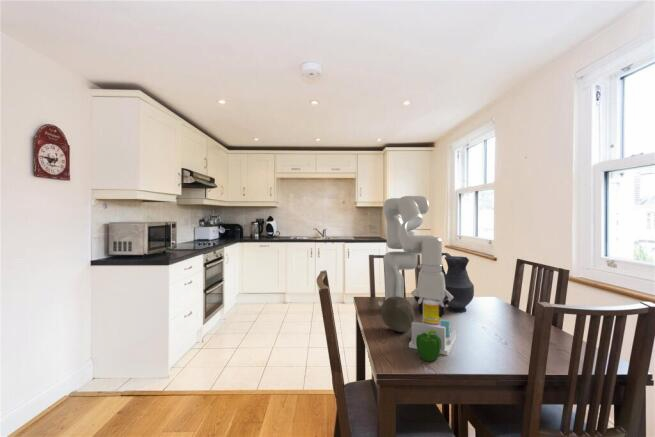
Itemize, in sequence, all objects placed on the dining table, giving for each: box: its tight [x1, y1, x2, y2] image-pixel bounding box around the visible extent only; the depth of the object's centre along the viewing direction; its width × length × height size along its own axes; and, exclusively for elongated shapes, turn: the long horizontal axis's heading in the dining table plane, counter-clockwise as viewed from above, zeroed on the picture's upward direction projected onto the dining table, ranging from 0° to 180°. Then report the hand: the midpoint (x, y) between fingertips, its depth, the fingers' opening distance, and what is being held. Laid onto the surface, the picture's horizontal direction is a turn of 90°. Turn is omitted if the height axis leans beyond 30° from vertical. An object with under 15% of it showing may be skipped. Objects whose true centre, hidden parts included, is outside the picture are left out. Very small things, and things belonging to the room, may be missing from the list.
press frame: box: [408, 321, 457, 356], centre depth 128 cm, size 14×20×10 cm
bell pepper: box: [416, 330, 441, 362], centre depth 114 cm, size 8×8×10 cm
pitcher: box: [442, 252, 475, 313], centre depth 175 cm, size 17×21×30 cm
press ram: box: [440, 318, 451, 337], centre depth 133 cm, size 10×3×16 cm, turn 60°
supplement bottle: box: [422, 298, 442, 326], centre depth 125 cm, size 7×7×13 cm
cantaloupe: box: [380, 297, 415, 333], centre depth 141 cm, size 14×14×15 cm
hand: (431, 314), depth 125 cm, fingers closed on supplement bottle, 6 cm apart
